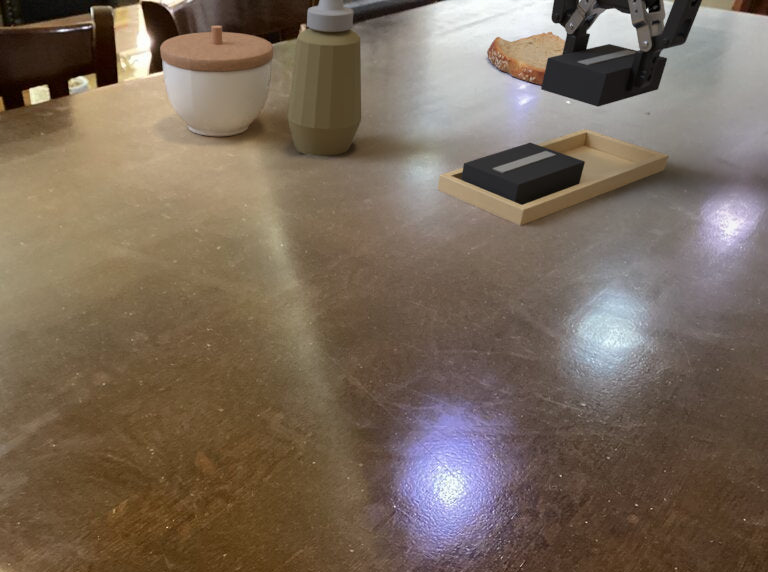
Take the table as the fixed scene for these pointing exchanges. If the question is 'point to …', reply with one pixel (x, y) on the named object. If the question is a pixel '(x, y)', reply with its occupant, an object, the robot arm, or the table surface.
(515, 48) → the slice of bread
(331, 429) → the table surface
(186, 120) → the lidded bowl
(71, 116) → the table surface
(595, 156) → the tray
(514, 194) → the pad
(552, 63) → the pad
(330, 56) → the squeeze bottle
